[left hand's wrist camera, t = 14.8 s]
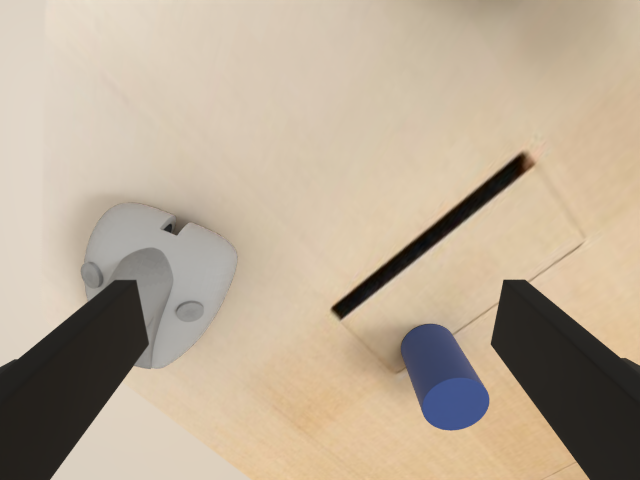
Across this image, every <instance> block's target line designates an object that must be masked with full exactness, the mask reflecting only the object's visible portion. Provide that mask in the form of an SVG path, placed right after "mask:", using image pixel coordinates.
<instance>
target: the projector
mask: <svg viewBox="0 0 640 480" xmlns="http://www.w3.org/2000/svg"><path fill="white" fill-rule="evenodd" d="M175 224H176V217H175V215H172V214H170V213H167V212H165V211H162V210H159V209H157V208H154V207H151V206H147V205H144V204H139V203H123V204H119V205H116V206H114V207H112V208H110V209H109V210H108V211H107V212H106V213H105V214H104V215H103V216H102V217H101V219H100V220H99V221H98V223H97V225H96V226H95V228H94V230H93V232H92V234H91V237H90V239H89V242H88V246H87V249H86V254H85V261H84V264H83V265H82V267H81V275H82V278H83V280H84V282H85V289H86V295H87V299H88V301H90V300H91V299H92V298H93V297H95V296H96V295H97V294H98V293H99V292H101V291H102V290H103V289H104V288H106V287H107V286H108V285H109V284H110V283H112V282H113V281H114V280H137V285H138V290H139V295H140V300H141V305H142V310H143V315H144V320H145V325H146V330H147V335H148V340H149V345H148V347H147V348H146V349H145V351H144V352H143V354H142V355H141V356H140V358H139V359H138V360H137V362H136V363H135V364H134V366H137V367H141V368H147V369H151V368H156V369H158V368H163V367H165V366H167V365H169V364H170V363H172V362H173V361H175V360H176V359H177V358H179V357H180V356H181V355H182V354H184V353H185V352H186V351H187V350H188V349H189V348H190V347H191V346H192V345H193V344H194V343H195V342H196V341H197V340H198V339H199V338H200V337H201V336H202V334H203V333H204V332H205V331H206V329H207V328H208V327H209V325H210V324H211V322H212V321H213V319H214V317H215V315H216V314H217V312H218V310H219V308H220V306H221V305H222V303H223V300H224V298H225V296H226V294H227V292H228V289H229V287H230V285H231V282H232V279H233V276H234V273H235V270H236V265H237V252H236V250H235V248H234V247H233V245H232V244H231V243H230V242H229V241H228V240H227V239H225V238H224V237H222V236H220V235H219V234H217V233H215V232H213V231H211V230H209V229H206V228H204V227H202V226H199V225H197V224H195V223H192V222H190V223H188V224H187V225H185V226H184V227H183V229H182V230H181V231H180V232H179V234H178V235H174V234H173V231H174V228H175Z"/></svg>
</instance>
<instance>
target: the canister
mask: <svg viewBox="0 0 640 480" xmlns="http://www.w3.org/2000/svg"><path fill="white" fill-rule="evenodd" d="M401 353H402V357H403V359H404V362H405V365H406V368H407V371H408V373H409V376H410V379H411V382H412V384H413V387H414V390H415V393H416V396H417V398H418V401H419V404H420V407H421V410H422V412H423V415H424V417H425V419H426V420H427V421H428V422H429V423H430V424H431V425H433V426H435V427H437V428H439V429H443V430H459V429H463V428H467V427H469V426H471V425H473V424H475V423H476V422H477V421H479V420H480V419H481V418H482V417H483V416H484V414H485V413H486V411H487V409H488V406H489V395H488V392H487V390H486V388H485V387H484V385H483V384H482V382H481V380H480V379H479V377H478V376H477V374H476V372H475V371H474V369H473V367H472V366H471V364H470V363H469V361H468V359H467V358H466V356H465V355H464V353H463V351H462V350H461V348H460V347H459V345H458V343H457V342H456V340H455V338H454V337H453V335H452V334H451V332H450V331H449V330H448V329H446V328H445V327H443V326H440V325H436V324H425V325H421V326H418V327H416V328H414V329H413V330H411V331H410V332H409V333H408V334H407V335H406V336H405V338H404V339H403V342H402V345H401Z"/></svg>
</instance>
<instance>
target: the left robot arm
mask: <svg viewBox="0 0 640 480" xmlns="http://www.w3.org/2000/svg"><path fill="white" fill-rule="evenodd" d="M148 345H149V340H148V335H147V330H146V325H145V320H144V315H143V310H142V305H141V300H140V295H139V290H138V285H137V280H114V281H113V282H112V283H110V284H109V285H108V286H107V287H106V288H104V289H103V290H102V291H101V292H99V293H98V294H97V295H96V296H95V297H93V298H92V299H91V300H90V301H88V302H87V303H86V304H85V305H84V306H82V307H81V308H80V309H79V310H77V311H76V312H75V313H74V314H73V315H71V316H70V317H69V318H68V319H67V320H65V321H64V322H63V323H62V324H60V325H59V326H58V327H57V328H56V329H54V330H53V331H52V332H51V333H50V334H48V335H47V336H46V337H45V338H43V339H42V340H41V341H40V342H38V343H37V344H36V345H35V346H34V347H32V348H31V349H30V350H29V351H28V352H26V353H25V354H24V355H23V356H21V357H20V358H19V359H15V360H13V361H11V362H9V363H7V364H5V365H3V366H2V367H0V480H50V479H51V478H52V476H53V475H54V474H55V472H56V471H57V469H58V468H59V467H60V465H61V464H62V463H63V461H64V460H65V459H66V457H67V456H68V454H69V453H70V452H71V450H72V449H73V448H74V446H75V445H76V444H77V442H78V441H79V439H80V438H81V437H82V435H83V434H84V433H85V431H86V430H87V429H88V427H89V426H90V424H91V423H92V422H93V420H94V419H95V418H96V416H97V415H98V414H99V412H100V411H101V409H102V408H103V407H104V405H105V404H106V403H107V401H108V400H109V399H110V397H111V396H112V394H113V393H114V392H115V390H116V389H117V388H118V386H119V385H120V383H121V382H122V381H123V379H124V378H125V377H126V375H127V374H128V373H129V371H130V370H131V369H132V367H133V366H134V364H135V363H136V362H137V360H138V359H139V358H140V356H141V355H142V354H143V352H144V351H145V349H146V348H147V347H148ZM491 345H492V347H493V348H494V349H495V351H496V352H497V354H498V355H499V356H500V358H501V359H502V360H503V362H504V363H505V364H506V366H507V367H508V369H509V370H510V371H511V373H512V374H513V375H514V377H515V378H516V379H517V381H518V382H519V384H520V385H521V386H522V388H523V389H524V390H525V392H526V393H527V394H528V396H529V397H530V399H531V400H532V401H533V403H534V404H535V405H536V407H537V408H538V409H539V411H540V412H541V414H542V415H543V416H544V418H545V419H546V420H547V422H548V423H549V424H550V426H551V427H552V429H553V430H554V431H555V433H556V434H557V435H558V437H559V438H560V439H561V441H562V442H563V444H564V445H565V446H566V448H567V449H568V450H569V452H570V453H571V454H572V456H573V457H574V459H575V460H576V461H577V463H578V464H579V465H580V467H581V468H582V469H583V471H584V472H585V474H586V475H587V476H588V478H589V479H590V480H640V366H639V365H638V364H636V363H634V362H632V361H630V360H628V359H626V358H620V357H619V356H617V355H616V354H615V353H614V352H612V351H611V350H610V349H609V348H608V347H606V346H605V345H604V344H603V343H602V342H600V341H599V340H598V339H597V338H595V337H594V336H593V335H592V334H591V333H589V332H588V331H587V330H586V329H584V328H583V327H582V326H581V325H580V324H578V323H577V322H576V321H575V320H573V319H572V318H571V317H570V316H569V315H567V314H566V313H565V312H564V311H563V310H561V309H560V308H559V307H558V306H556V305H555V304H554V303H553V302H552V301H550V300H549V299H548V298H547V297H545V296H544V295H543V294H542V293H541V292H539V291H538V290H537V289H536V288H534V287H533V286H532V285H531V284H530V283H528V282H527V281H526V280H503V285H502V290H501V295H500V300H499V305H498V310H497V315H496V320H495V325H494V330H493V335H492V340H491Z"/></svg>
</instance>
